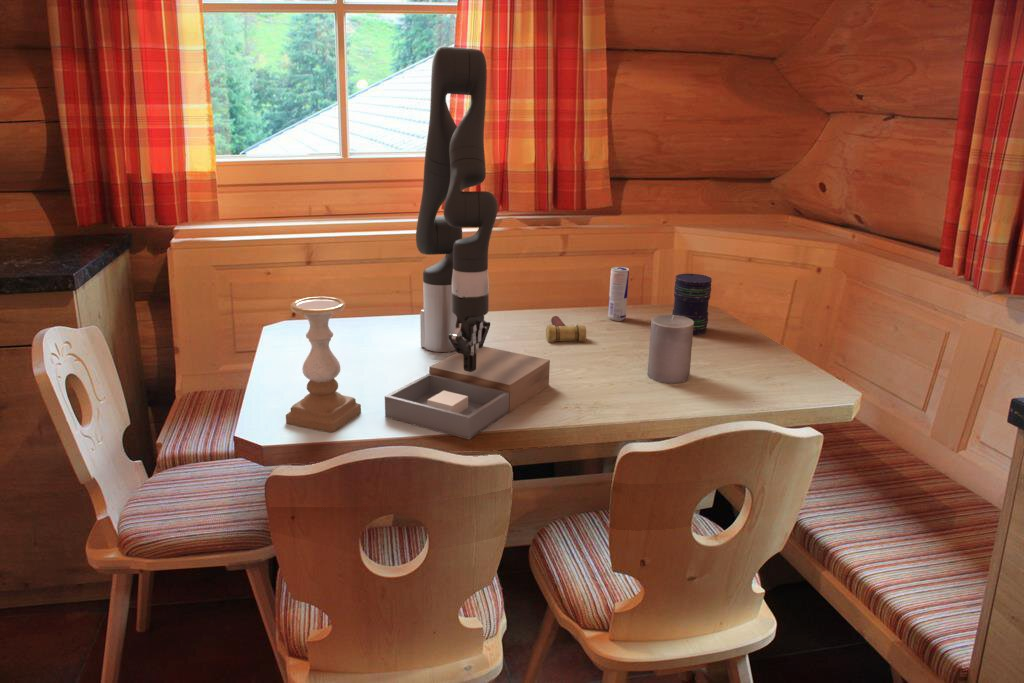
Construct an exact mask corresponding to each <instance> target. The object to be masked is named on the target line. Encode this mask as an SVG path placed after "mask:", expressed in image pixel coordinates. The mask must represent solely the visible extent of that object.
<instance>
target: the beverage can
mask: <svg viewBox="0 0 1024 683" xmlns="http://www.w3.org/2000/svg"><path fill="white" fill-rule="evenodd" d="M629 271H630V268H628V267H624V266H613V267H611V268H610V276H609V277H610V278H609V279H610V280H609V295H608V298H609V299H608V309H607V311H608V312H607V317H608V318H609V319H610V320H611V321H616V322H620V321H624V319H625V318H626V317H627V307H628V306H627V303H628V289H629V276H630V272H629Z"/></svg>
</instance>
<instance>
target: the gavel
mask: <svg viewBox="0 0 1024 683" xmlns="http://www.w3.org/2000/svg"><path fill="white" fill-rule="evenodd" d="M550 322H551V324H549V325H546V327H545V340H546V341H547V342H548V343H556V341H558V342H574V341H577V342H579V343H580V342H581V343H582V342H586V340H587V328H586V325H585V324H576V326H574V325H567V326H566V324H565V323H564V322H563V321H562V319H561V318H560V317H559V316H558V315H554V316H552V317H551V319H550Z"/></svg>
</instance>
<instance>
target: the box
mask: <svg viewBox="0 0 1024 683" xmlns="http://www.w3.org/2000/svg"><path fill="white" fill-rule="evenodd" d="M442 391H448V392H452V393H456V394H461V395H465V396H468V408H467V409H465V410H463V411H462V412H460V413H456V412H452V411H448V410H444V409H440V408H436V407H432V406H428V405H427V400H428V399H430V398H431V397H433V396H435V395H437V394H439V393H440V392H442ZM509 413H510V412H509V392H505V391H501V390H497V389H493V388H488V387H484V386H480V385H475V384H471V383H467V382H462V381H458V380H454V379H450V378H445V377H441V376H437V375H432V374H429V373H427V374H425V375H423V376H421V377H419V378H417V379H415V380H414V381H411V382H410V383H407V384H406V385H404V386H402V387H400V388H398V389H395V390H394V391H392V392H391V393H390V392H389V393H388V394H386V395H384V414H385V416H384V417H385V418H387V419H390V420H391V419H392V420H396V421H397V422H398V421H399V422H403V423H406V424H410V425H414V426H418V427H421V428H423V429H428V430H432V431H436V432H439V433H443V434H447V435H451V436H453V437H454V436H455V437H458V438H462V439H465V440H468V441H469V440H471V439H472V438H474V437H476V436H477V435H478V434H480V433H481V432H482V431H484V430H486V429H488V427H490V426H491V425H493V424H494V423H496V422H497V421H499V420H500V419H502V418H503V417H505V416H506V415H508V414H509Z"/></svg>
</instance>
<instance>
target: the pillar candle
mask: <svg viewBox="0 0 1024 683" xmlns="http://www.w3.org/2000/svg"><path fill="white" fill-rule="evenodd" d="M650 322H651V323H650V335H649V348H648V360H647V361H648V362H647V373H646V374H647V377H648V378H649V379H650V380H652V379H653V380H652V381H656V382H657V381H658V382H659V383H661V382H662V384H682V383H685V382H687V381H688V380H689V378H690V375H691V374H690V373H691V363H692V362H691V361H692V350H693V337H694V336H693V327H694V322H693V320H691V319H690V318H687V317H684V316H678V315H672V314H659V315H656V316H653V317H652V318H651V321H650ZM681 382H682V383H681Z"/></svg>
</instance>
